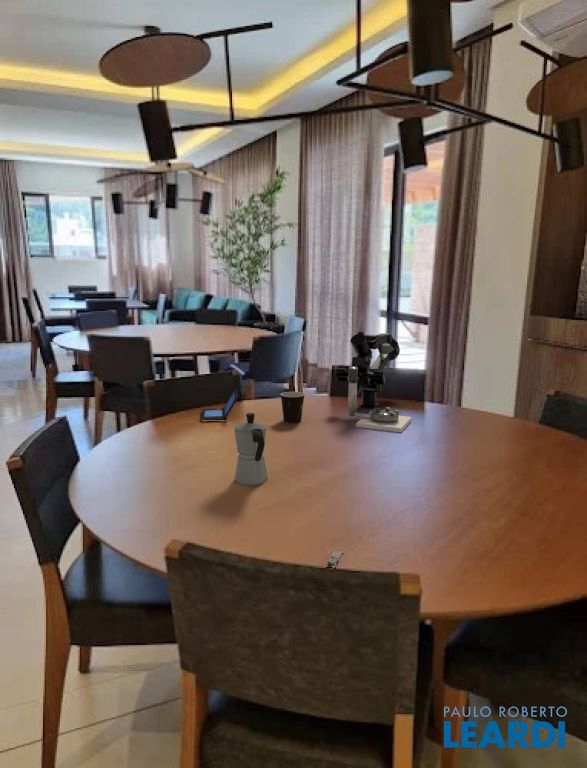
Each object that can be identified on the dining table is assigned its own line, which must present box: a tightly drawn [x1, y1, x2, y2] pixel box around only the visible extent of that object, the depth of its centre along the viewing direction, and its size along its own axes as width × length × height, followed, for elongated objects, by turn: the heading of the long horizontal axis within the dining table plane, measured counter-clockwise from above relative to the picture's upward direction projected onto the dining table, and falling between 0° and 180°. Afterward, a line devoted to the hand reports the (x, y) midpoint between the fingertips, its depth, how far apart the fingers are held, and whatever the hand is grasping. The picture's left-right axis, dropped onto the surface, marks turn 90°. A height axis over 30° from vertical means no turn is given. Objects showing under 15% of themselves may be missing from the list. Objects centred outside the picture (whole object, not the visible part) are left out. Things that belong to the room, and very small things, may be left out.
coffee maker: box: [233, 412, 269, 487], centre depth 139 cm, size 15×9×18 cm, turn 23°
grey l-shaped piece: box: [347, 366, 400, 422], centre depth 194 cm, size 10×19×18 cm, turn 65°
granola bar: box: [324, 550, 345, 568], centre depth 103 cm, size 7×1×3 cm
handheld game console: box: [200, 389, 238, 420], centre depth 203 cm, size 16×13×9 cm
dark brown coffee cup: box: [280, 391, 305, 424], centre depth 196 cm, size 12×9×10 cm
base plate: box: [355, 412, 412, 433], centre depth 195 cm, size 16×16×2 cm
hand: (355, 394), depth 202 cm, fingers closed
